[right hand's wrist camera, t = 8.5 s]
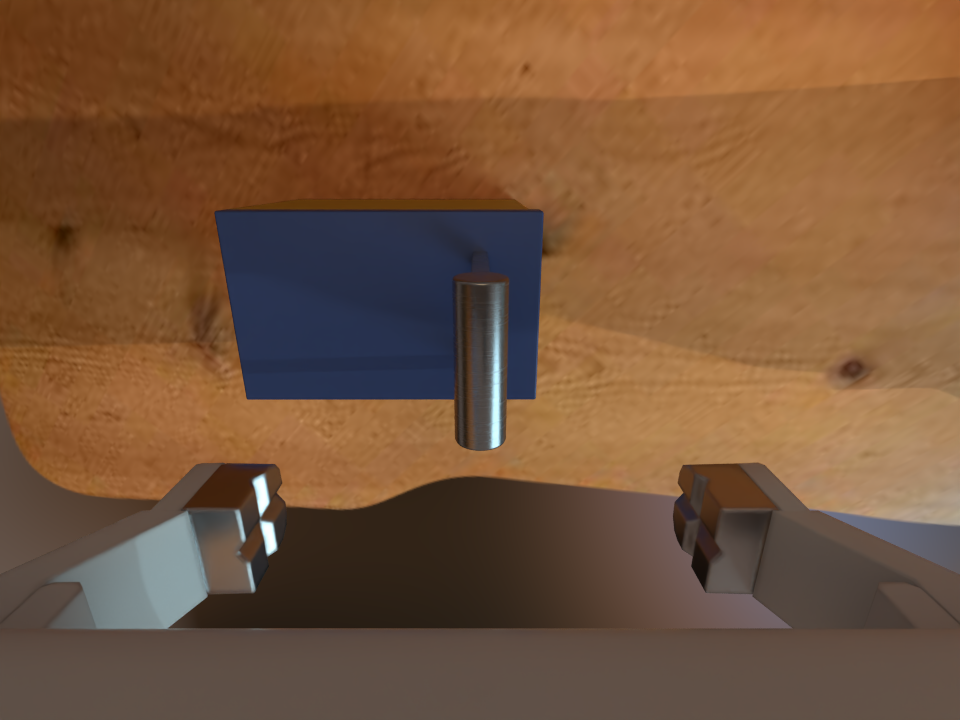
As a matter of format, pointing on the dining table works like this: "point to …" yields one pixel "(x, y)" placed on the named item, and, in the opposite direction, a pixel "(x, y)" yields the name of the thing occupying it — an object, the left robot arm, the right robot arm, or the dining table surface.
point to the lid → (388, 306)
